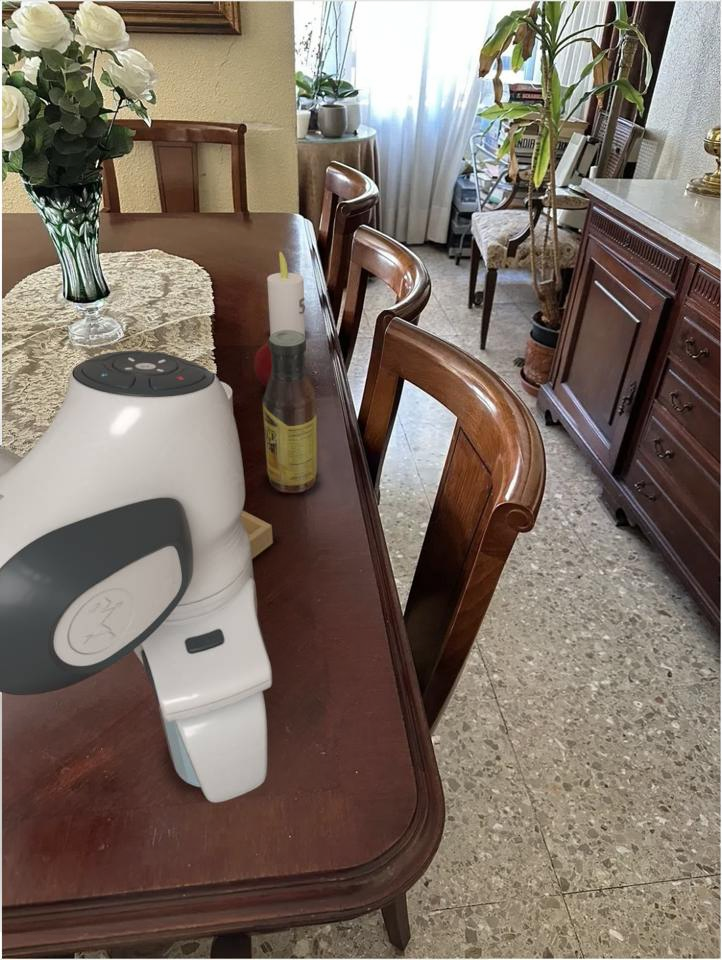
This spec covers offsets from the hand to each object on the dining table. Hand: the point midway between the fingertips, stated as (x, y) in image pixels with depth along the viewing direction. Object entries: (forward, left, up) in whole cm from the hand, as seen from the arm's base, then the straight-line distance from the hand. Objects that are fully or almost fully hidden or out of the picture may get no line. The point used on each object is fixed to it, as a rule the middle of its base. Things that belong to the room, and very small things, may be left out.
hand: (209, 717), depth 51 cm
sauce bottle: (+32, +19, -4) cm, 38 cm away
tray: (+15, +20, -4) cm, 25 cm away
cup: (0, 0, -4) cm, 4 cm away
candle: (+67, +50, -4) cm, 84 cm away
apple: (+50, +37, -4) cm, 62 cm away
